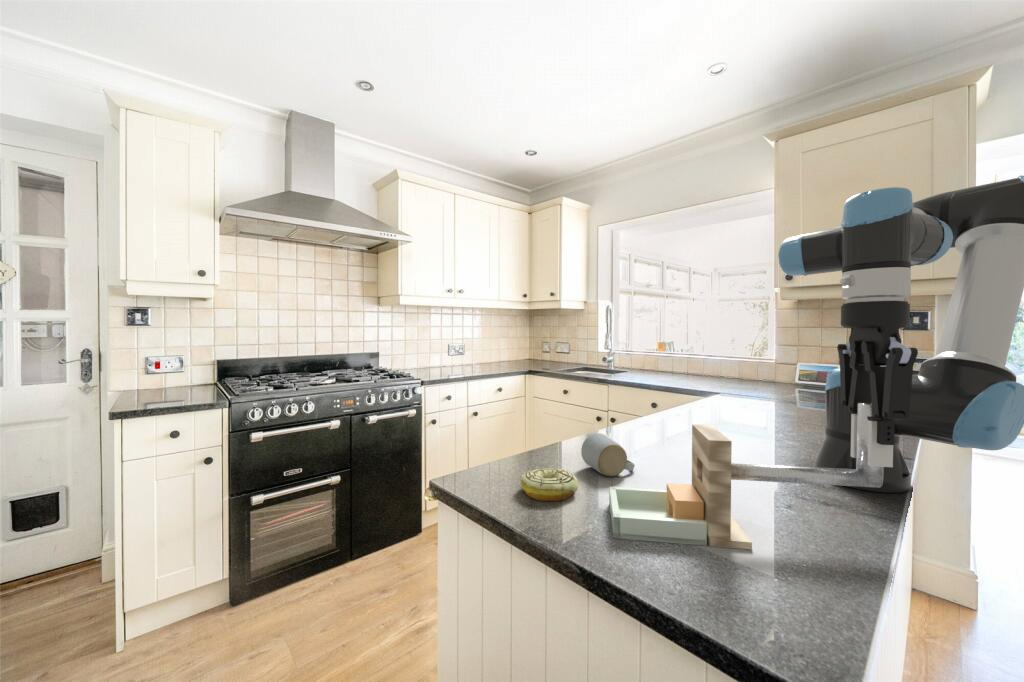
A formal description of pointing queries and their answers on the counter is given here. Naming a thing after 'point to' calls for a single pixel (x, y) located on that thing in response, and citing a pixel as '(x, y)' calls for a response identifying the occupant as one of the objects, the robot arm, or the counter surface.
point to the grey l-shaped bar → (824, 476)
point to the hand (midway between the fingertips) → (870, 461)
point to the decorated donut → (549, 484)
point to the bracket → (715, 486)
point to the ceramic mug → (605, 455)
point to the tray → (651, 518)
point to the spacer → (684, 502)
